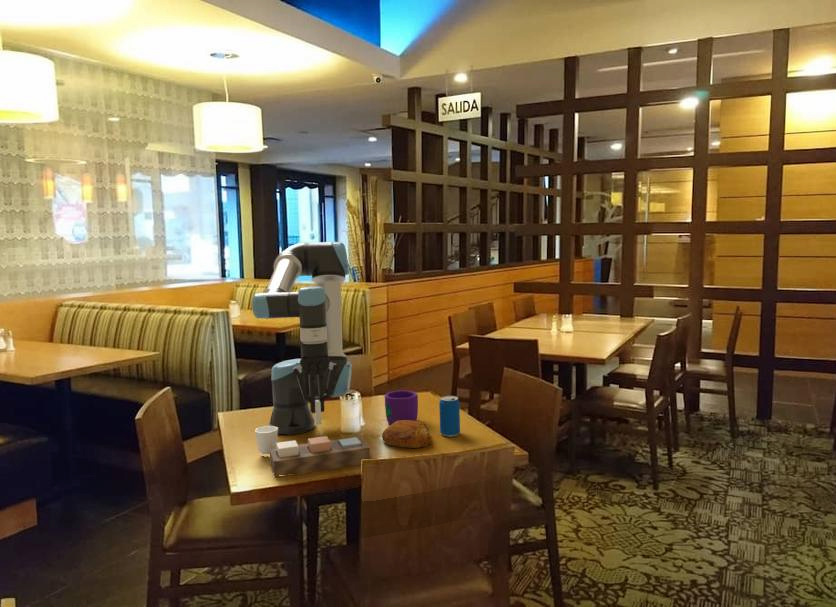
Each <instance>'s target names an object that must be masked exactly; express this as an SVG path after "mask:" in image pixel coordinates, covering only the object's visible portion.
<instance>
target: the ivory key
mask: <svg viewBox="0 0 836 607" xmlns="http://www.w3.org/2000/svg"><path fill="white" fill-rule="evenodd" d="M298 445H299V444H298V443H297V441H296V439H295V440H289V441H288V440H287V441H279V442H277V443H276V448H277V457H278V458H281V457H288V456H295V455H299V450H298Z"/></svg>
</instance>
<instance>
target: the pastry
mask: <svg viewBox="0 0 836 607" xmlns="http://www.w3.org/2000/svg"><path fill="white" fill-rule="evenodd" d="M381 439H382V442H384V444H386V445H389V446H395V447H400V448H408V449H410V448H411V449H412V448H414V449H416V448H422V447H426V446H428V445H429V444H430V442H431V440H432V435H431V433H430V431H429V428H428V427H427V426H426V424H425V423H423V422H421V421H418V420H416V421H411V420H399V421H396V422H394V423H393V424H390V425H389V426H387V427H386V428H385V429H384V430H383V431H382V433H381Z"/></svg>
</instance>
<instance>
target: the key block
mask: <svg viewBox="0 0 836 607" xmlns="http://www.w3.org/2000/svg"><path fill="white" fill-rule="evenodd" d="M350 438H357V439H358V440H359V441H360V442H361V446H357V447H350V448H343V449H342V448H341V447H340V445H339V440H342V439H350ZM329 441H330V450H329V451H322V452H315V453H310V452H309V449H308V443H302V444H297V445H298V450H299V455H295V456H288V457H281V458H278V457H277V447H276V448H272V449H269V451H270V457H269V463H271V465H270V467H272V468H271V471H272V470H273V471H272V473H274V474H273V477H274V476H279V475H287V476H290V475H289V474H294V475H299V474H298V473H300V474H305V473H306V472H307V473H314V472H320V471H326V470H333V469H339V468H346V467H351V466H358V465H362V464H361V460H362V459H370V460H371V449H370V448H371V447H370V445H368V444H367V442H366V441H365V440H364V439H363V437H362V436H360V435H359V436H353V437H345V438H339V439H337V438H336V439H331V440H330V439H329Z"/></svg>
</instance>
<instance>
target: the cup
mask: <svg viewBox="0 0 836 607" xmlns="http://www.w3.org/2000/svg"><path fill="white" fill-rule="evenodd" d="M254 435H255V440H256V444H257V448H258V451H259V453H260V454H270V451H269V449H272V448H277V445H276V443H278V436H279V435H278V427H275V426H269V425H264V426H260V427H256V428H255V430H254Z"/></svg>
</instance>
